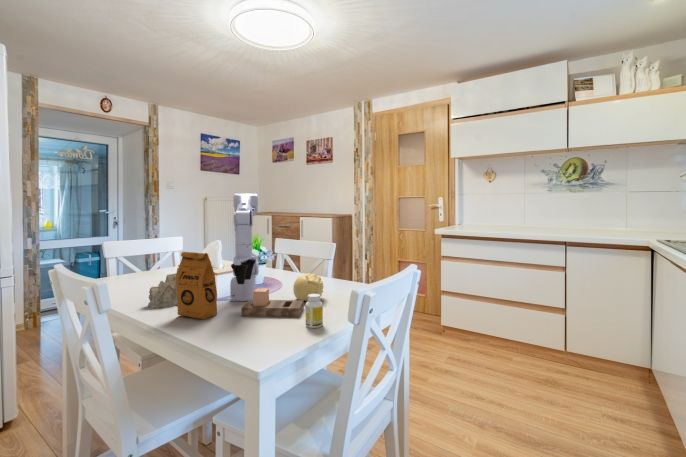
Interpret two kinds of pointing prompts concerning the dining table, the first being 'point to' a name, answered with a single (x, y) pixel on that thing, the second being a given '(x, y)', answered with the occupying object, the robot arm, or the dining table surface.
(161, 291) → the ceramic cottage
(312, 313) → the supplement bottle
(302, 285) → the sculpture
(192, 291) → the coffee package
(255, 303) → the square peg
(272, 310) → the socket board
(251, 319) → the dining table surface
